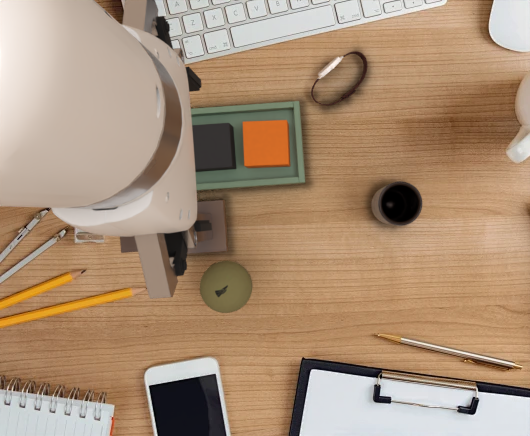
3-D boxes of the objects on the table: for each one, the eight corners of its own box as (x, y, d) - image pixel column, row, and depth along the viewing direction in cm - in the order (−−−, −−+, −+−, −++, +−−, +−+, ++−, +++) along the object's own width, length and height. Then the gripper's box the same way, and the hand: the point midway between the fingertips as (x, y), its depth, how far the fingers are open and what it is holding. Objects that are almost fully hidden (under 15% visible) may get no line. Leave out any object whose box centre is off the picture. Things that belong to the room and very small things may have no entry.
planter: (394, 178, 72) (405, 172, 62) (416, 209, 72) (431, 208, 62) (363, 200, 72) (369, 198, 62) (385, 231, 72) (395, 234, 62)
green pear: (243, 312, 72) (229, 327, 62) (203, 286, 72) (183, 298, 62) (268, 272, 72) (259, 281, 62) (229, 247, 72) (213, 252, 62)
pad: (194, 172, 72) (187, 170, 69) (191, 129, 72) (184, 125, 68) (236, 169, 72) (232, 166, 69) (233, 126, 72) (229, 122, 69)
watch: (349, 45, 72) (350, 36, 69) (376, 74, 72) (378, 67, 69) (301, 89, 72) (300, 82, 69) (328, 118, 72) (328, 113, 69)
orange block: (248, 168, 72) (244, 166, 69) (246, 125, 72) (242, 121, 69) (290, 166, 72) (288, 164, 69) (288, 124, 72) (287, 119, 69)
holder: (184, 191, 72) (180, 191, 70) (178, 112, 72) (174, 109, 70) (305, 183, 72) (305, 182, 70) (299, 104, 72) (299, 100, 70)
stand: (177, 254, 72) (103, 273, 48) (174, 203, 72) (97, 197, 48) (228, 250, 72) (178, 267, 48) (224, 200, 72) (173, 192, 48)
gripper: (-22, -89, 25) (120, 35, 42) (9, 334, 25) (139, 286, 42) (161, -102, 25) (229, 27, 42) (192, 321, 25) (247, 278, 42)
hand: (184, 157), depth 42 cm, fingers open, 9 cm apart
